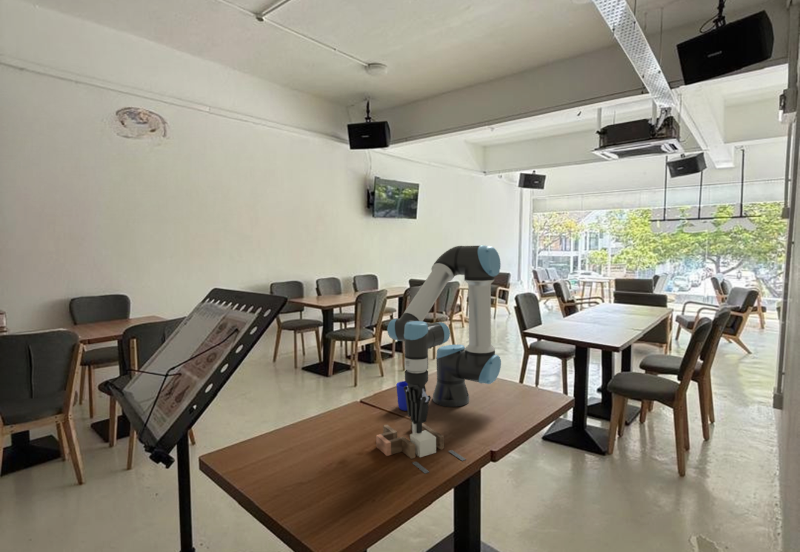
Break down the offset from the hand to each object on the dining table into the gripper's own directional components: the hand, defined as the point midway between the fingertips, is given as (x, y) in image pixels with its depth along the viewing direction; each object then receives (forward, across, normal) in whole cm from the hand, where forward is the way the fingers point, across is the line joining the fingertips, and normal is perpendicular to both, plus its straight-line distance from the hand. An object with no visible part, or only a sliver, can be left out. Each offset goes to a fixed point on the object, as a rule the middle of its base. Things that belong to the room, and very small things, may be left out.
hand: (417, 440), depth 140 cm
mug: (+2, -31, +15) cm, 35 cm away
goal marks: (+2, +12, 0) cm, 12 cm away
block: (+2, +4, 0) cm, 4 cm away
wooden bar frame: (+2, -3, -3) cm, 4 cm away
